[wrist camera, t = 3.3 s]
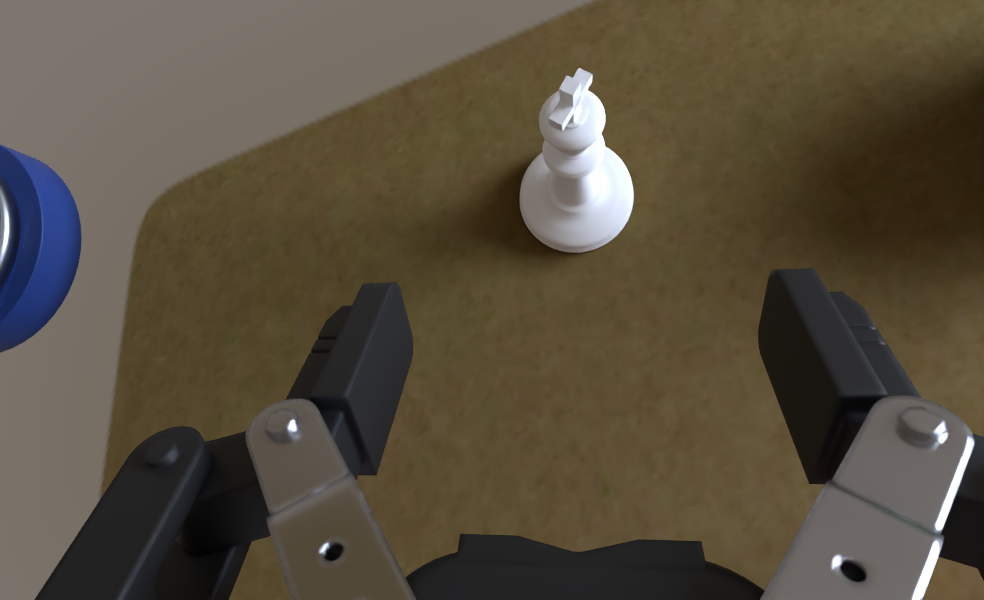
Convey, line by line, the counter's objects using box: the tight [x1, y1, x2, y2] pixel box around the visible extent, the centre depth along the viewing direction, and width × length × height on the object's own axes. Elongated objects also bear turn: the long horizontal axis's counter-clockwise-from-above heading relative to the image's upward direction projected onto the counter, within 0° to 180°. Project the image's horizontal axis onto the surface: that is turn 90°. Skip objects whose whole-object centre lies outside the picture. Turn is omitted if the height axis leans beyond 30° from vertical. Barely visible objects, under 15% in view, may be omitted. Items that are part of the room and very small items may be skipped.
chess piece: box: [520, 68, 634, 253], centre depth 21 cm, size 5×5×10 cm
